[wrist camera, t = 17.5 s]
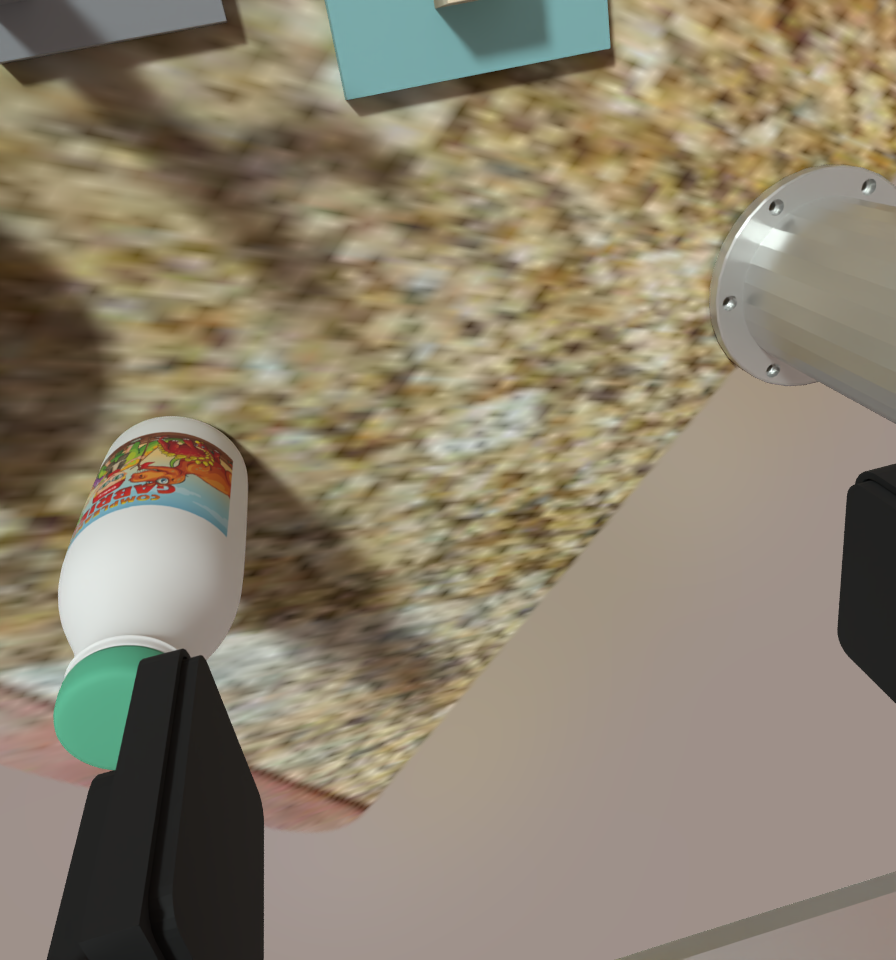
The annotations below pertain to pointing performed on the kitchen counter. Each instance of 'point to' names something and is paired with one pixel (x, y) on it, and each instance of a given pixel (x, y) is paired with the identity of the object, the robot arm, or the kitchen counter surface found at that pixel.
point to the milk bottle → (148, 571)
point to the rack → (94, 23)
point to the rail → (449, 2)
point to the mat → (455, 38)
